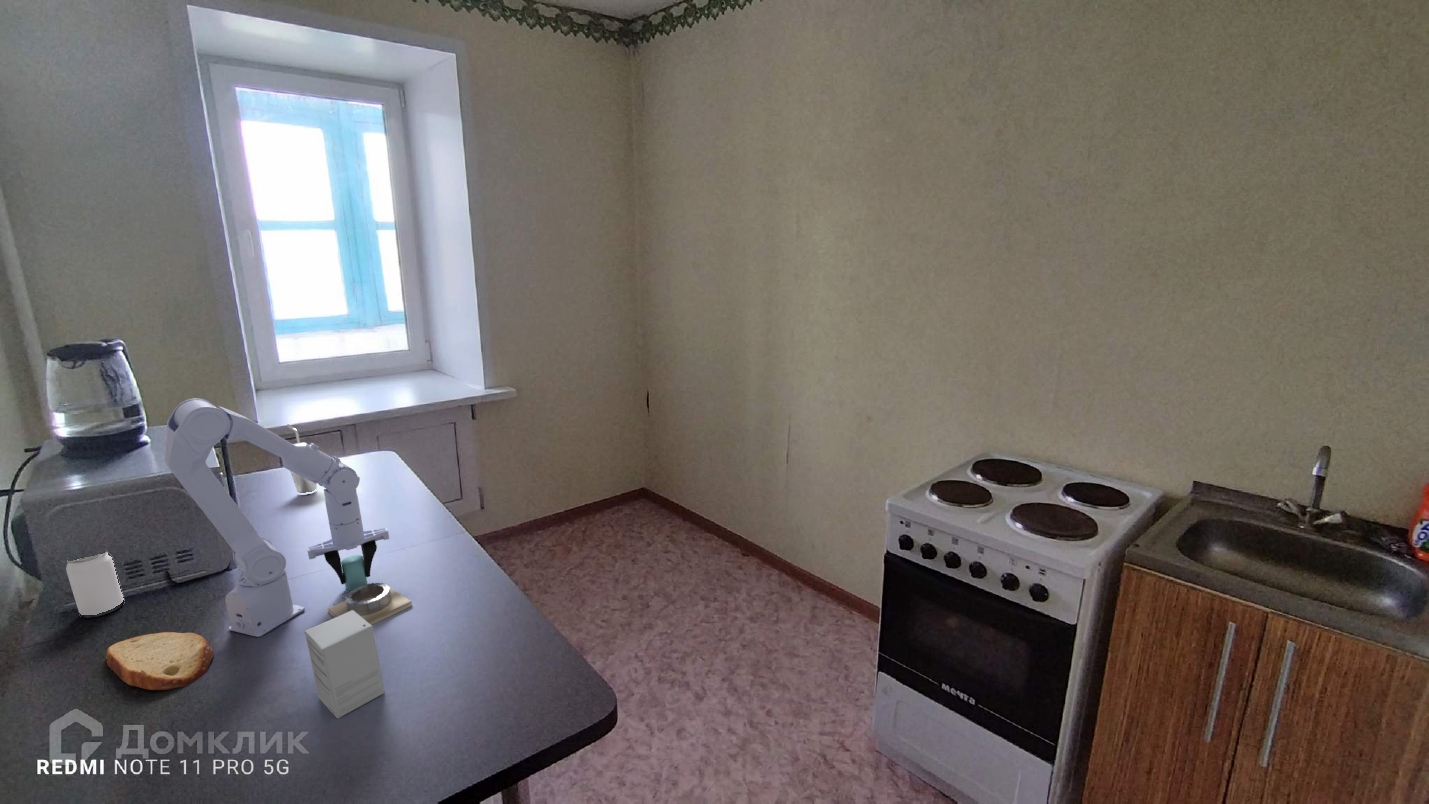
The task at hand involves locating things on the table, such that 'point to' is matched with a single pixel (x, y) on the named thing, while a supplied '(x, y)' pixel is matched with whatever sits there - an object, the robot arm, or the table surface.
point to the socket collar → (365, 592)
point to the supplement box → (345, 662)
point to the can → (94, 584)
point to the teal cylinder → (354, 572)
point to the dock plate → (395, 606)
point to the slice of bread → (160, 660)
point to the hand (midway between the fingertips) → (355, 578)
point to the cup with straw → (299, 481)
